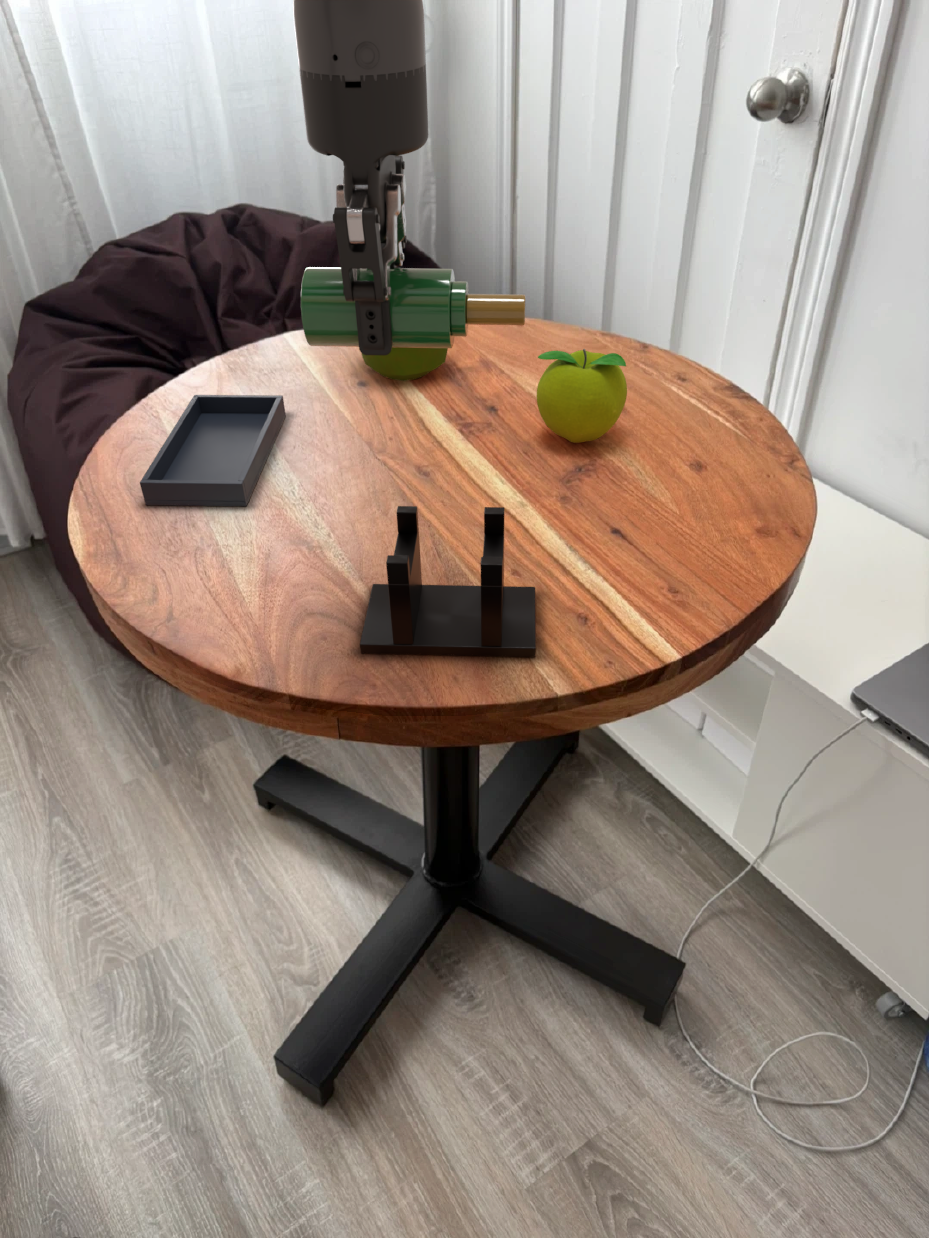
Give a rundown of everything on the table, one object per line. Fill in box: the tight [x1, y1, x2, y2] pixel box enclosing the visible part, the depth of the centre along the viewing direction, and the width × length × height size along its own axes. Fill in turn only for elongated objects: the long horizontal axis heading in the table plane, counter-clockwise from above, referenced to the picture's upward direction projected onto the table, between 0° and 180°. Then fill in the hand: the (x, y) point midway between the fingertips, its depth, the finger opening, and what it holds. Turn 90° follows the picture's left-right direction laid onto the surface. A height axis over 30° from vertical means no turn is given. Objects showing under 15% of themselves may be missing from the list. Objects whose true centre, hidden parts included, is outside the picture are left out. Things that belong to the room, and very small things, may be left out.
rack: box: [359, 505, 537, 658], centre depth 74 cm, size 14×8×9 cm, turn 87°
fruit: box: [536, 348, 628, 444], centre depth 98 cm, size 9×9×10 cm
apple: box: [361, 347, 449, 382], centre depth 112 cm, size 12×12×11 cm
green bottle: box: [300, 266, 526, 349], centre depth 64 cm, size 15×5×5 cm, turn 86°
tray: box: [139, 394, 287, 507], centre depth 98 cm, size 19×10×3 cm, turn 177°
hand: (382, 335), depth 65 cm, fingers closed on green bottle, 5 cm apart
